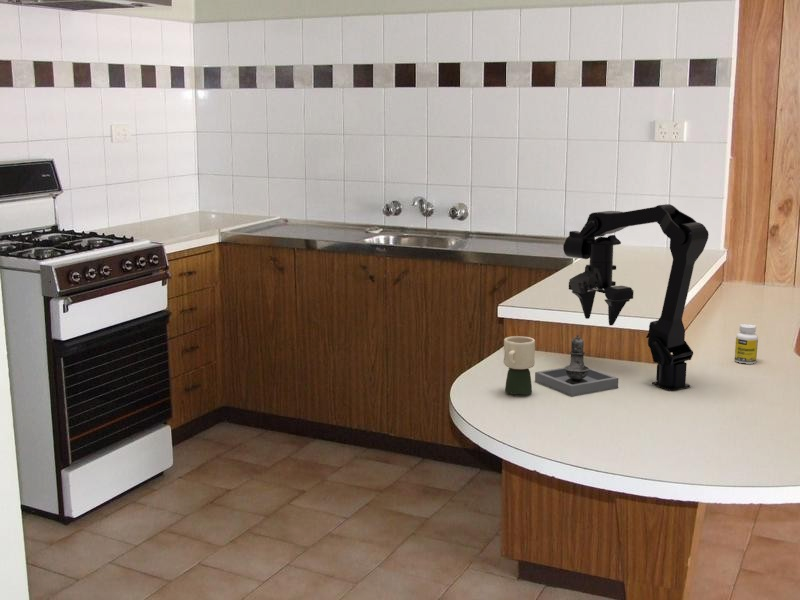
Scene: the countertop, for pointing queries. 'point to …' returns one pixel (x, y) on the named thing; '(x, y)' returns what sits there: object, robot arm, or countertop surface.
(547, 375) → the charcoal tray
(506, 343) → the character mug
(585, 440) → the countertop surface
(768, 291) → the countertop surface
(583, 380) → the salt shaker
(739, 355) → the supplement bottle
